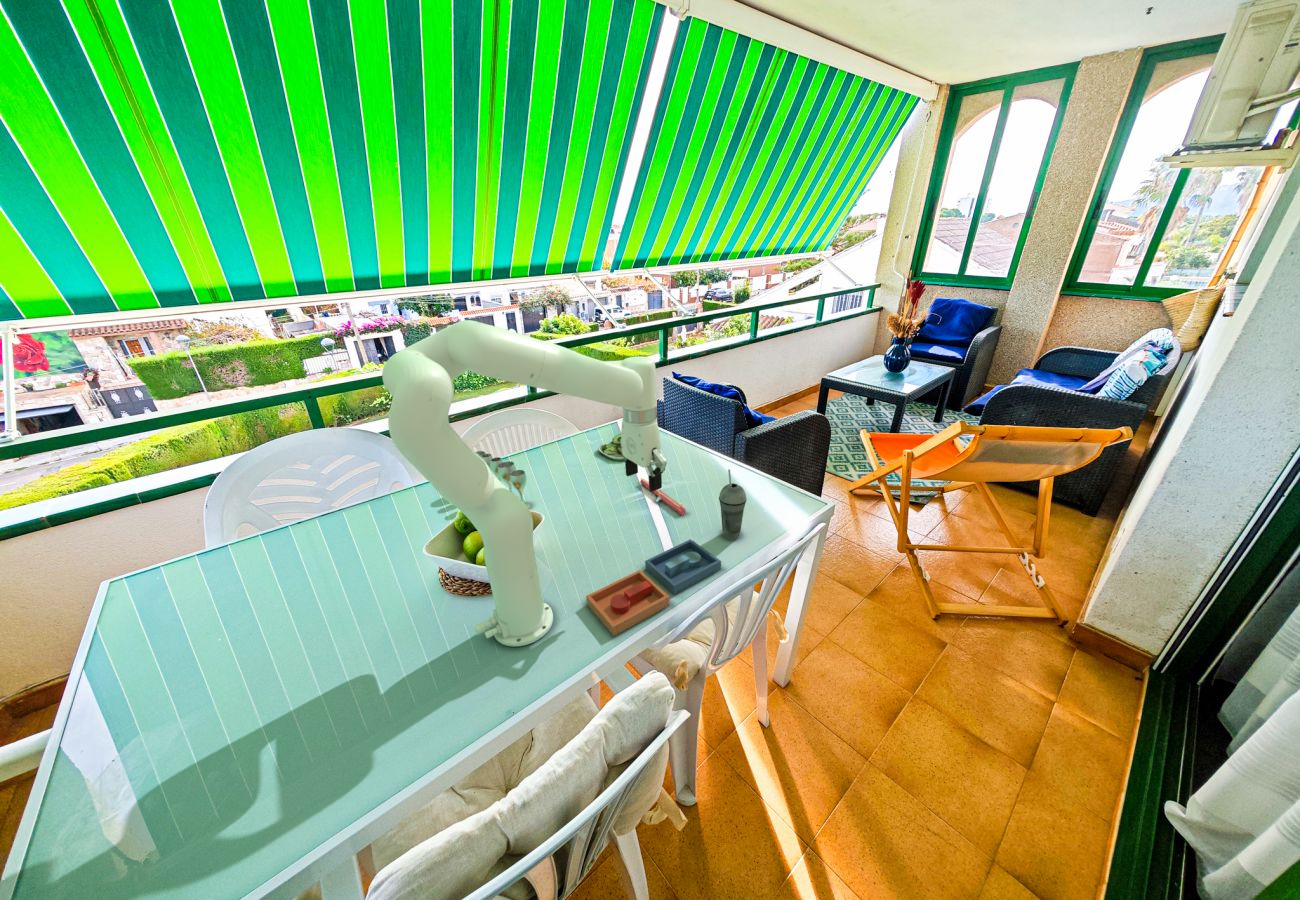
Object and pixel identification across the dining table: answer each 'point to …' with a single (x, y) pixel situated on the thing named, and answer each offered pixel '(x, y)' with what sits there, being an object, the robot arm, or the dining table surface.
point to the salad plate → (612, 449)
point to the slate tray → (687, 576)
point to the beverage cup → (732, 509)
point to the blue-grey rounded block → (682, 563)
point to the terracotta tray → (637, 612)
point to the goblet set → (506, 472)
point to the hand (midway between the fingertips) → (643, 481)
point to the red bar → (666, 499)
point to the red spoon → (630, 598)
